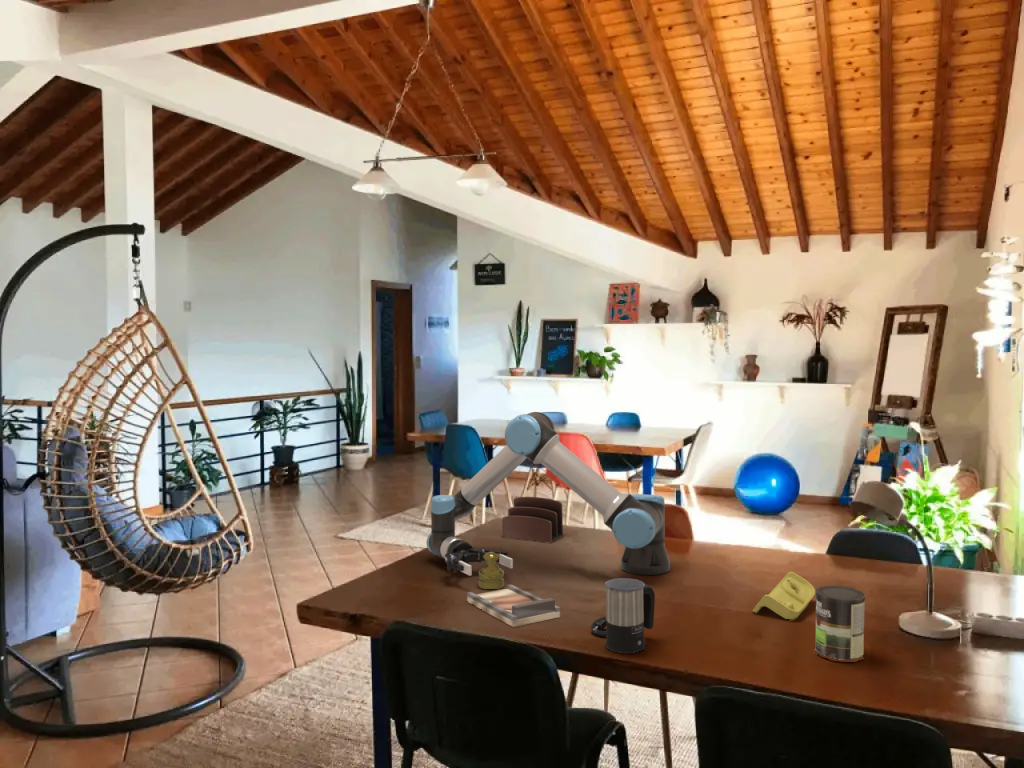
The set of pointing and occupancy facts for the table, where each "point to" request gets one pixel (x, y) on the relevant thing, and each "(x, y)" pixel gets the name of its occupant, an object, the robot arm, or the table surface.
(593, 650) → the table surface
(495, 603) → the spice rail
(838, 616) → the coffee can
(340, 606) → the table surface
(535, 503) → the letter holder
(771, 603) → the plastic component
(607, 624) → the milk frother
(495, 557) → the gold chess piece
